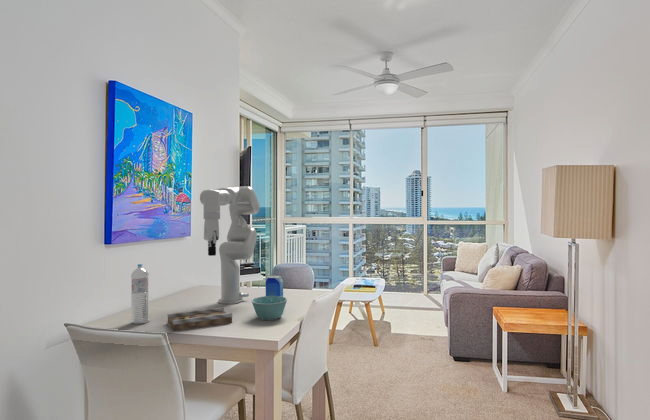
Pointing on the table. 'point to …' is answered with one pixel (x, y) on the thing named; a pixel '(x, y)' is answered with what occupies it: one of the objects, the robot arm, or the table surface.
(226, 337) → the table surface
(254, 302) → the bowl
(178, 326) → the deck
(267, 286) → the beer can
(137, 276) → the water bottle
